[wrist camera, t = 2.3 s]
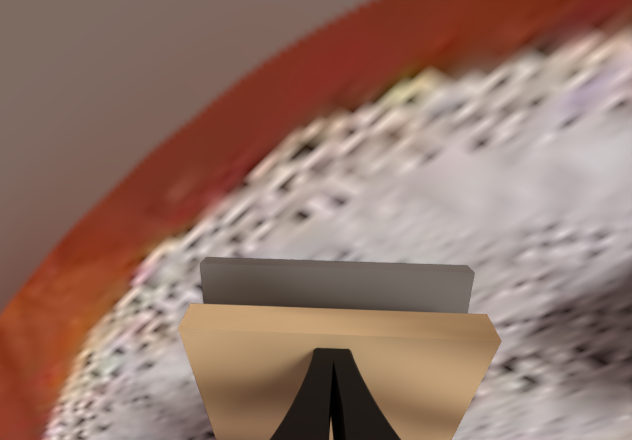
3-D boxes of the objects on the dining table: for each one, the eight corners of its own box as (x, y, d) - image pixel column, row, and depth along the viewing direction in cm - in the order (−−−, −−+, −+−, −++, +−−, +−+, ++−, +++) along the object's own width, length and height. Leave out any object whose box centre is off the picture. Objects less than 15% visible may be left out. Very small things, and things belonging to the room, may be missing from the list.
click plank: (433, 436, 17) (440, 461, 16) (226, 426, 18) (219, 450, 17) (486, 314, 12) (501, 340, 11) (190, 303, 12) (178, 328, 11)
